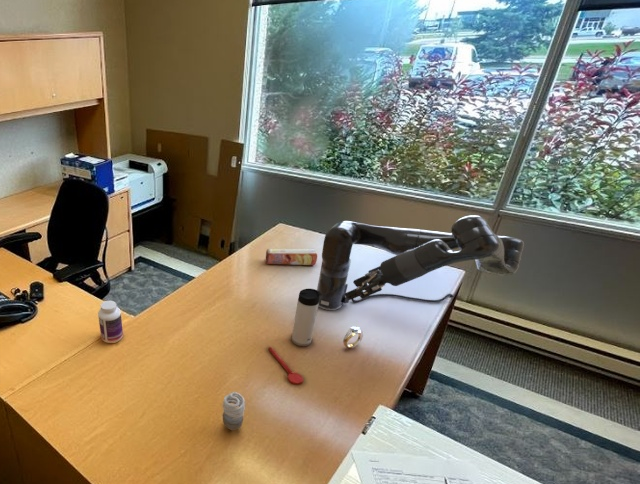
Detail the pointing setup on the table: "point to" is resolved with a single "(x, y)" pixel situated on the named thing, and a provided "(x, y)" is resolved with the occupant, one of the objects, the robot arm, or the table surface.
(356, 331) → the ring
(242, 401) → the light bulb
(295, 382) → the spoon
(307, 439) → the table surface
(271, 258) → the snack package
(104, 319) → the pill bottle
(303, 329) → the travel mug
